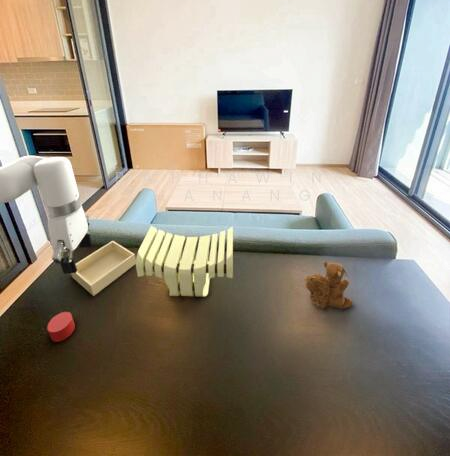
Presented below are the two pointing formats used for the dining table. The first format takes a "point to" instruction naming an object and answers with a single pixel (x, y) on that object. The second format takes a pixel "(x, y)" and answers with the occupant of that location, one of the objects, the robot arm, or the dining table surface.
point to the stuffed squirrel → (329, 287)
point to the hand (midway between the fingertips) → (79, 258)
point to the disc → (61, 326)
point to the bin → (103, 267)
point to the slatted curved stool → (185, 261)
